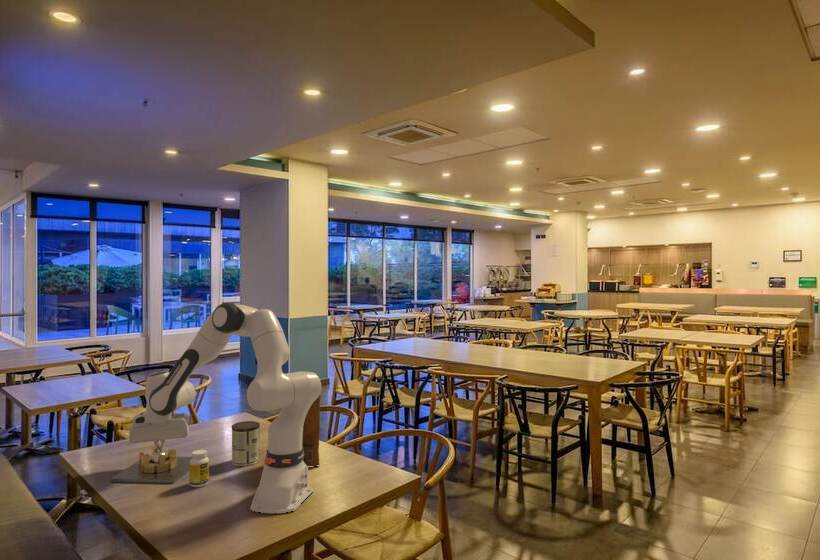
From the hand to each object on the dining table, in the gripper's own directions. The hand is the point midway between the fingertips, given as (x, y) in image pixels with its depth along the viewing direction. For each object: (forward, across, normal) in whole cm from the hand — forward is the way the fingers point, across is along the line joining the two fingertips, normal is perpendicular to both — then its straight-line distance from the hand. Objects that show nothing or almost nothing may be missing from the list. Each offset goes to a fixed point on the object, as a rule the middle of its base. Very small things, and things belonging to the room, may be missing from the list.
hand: (159, 451), depth 192 cm
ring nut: (+3, 0, +7) cm, 7 cm away
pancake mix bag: (+6, -51, +16) cm, 54 cm away
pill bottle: (+5, -15, +25) cm, 30 cm away
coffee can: (+6, -31, +7) cm, 32 cm away
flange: (+5, -1, +8) cm, 9 cm away
